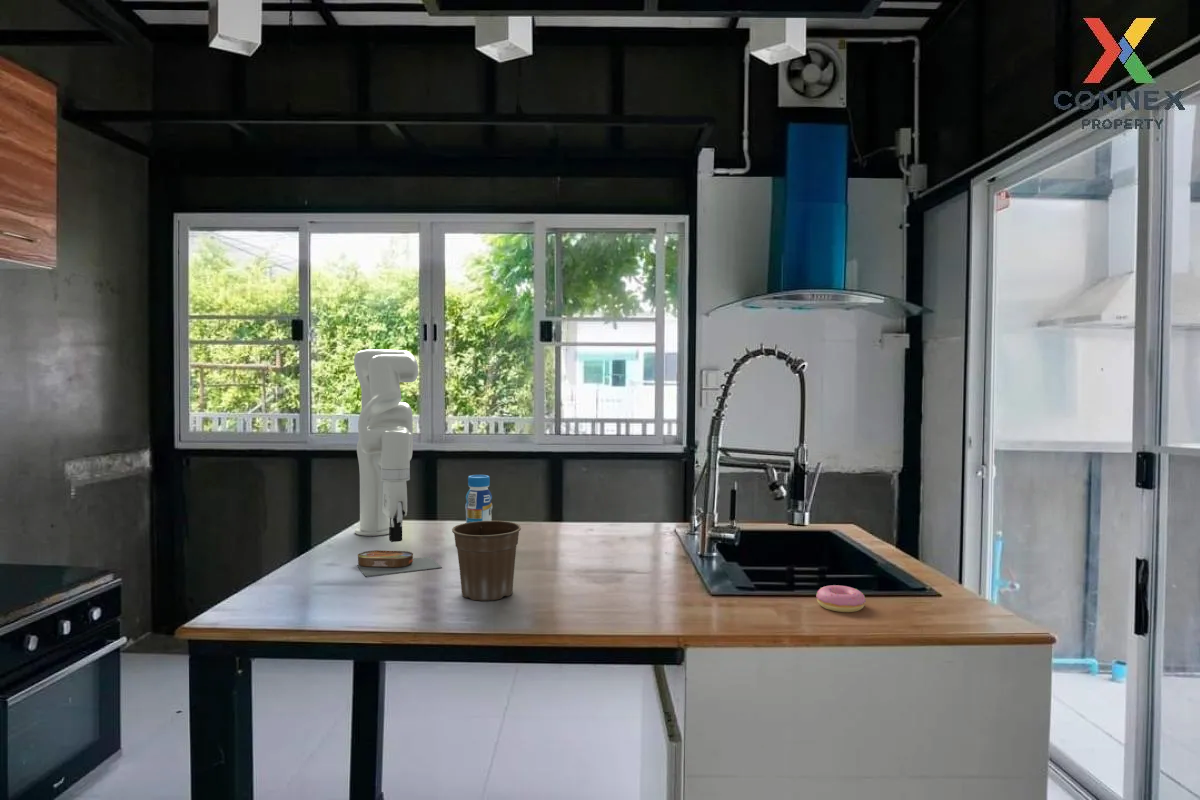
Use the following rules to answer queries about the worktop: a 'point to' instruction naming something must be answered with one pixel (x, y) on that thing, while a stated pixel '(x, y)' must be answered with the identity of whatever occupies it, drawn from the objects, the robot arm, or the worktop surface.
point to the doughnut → (840, 598)
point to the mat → (414, 566)
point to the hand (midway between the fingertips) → (395, 540)
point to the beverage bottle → (478, 499)
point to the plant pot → (486, 558)
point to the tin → (385, 558)
